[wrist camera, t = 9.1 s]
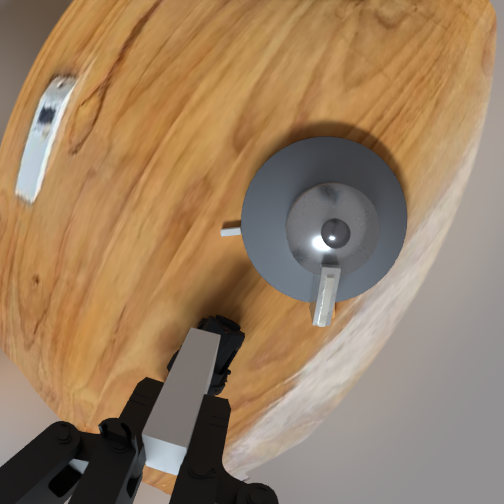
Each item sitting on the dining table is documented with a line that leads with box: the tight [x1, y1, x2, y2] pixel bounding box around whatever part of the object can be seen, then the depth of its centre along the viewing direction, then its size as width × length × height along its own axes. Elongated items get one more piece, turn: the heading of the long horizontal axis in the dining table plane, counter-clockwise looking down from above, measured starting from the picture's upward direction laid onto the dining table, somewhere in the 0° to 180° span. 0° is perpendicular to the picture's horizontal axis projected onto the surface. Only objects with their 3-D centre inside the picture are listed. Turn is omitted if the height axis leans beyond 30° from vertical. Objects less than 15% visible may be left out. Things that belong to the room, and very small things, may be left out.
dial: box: [286, 181, 380, 327], centre depth 30 cm, size 16×10×4 cm, turn 177°
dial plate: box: [220, 137, 407, 319], centre depth 33 cm, size 22×22×2 cm
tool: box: [167, 315, 245, 396], centre depth 38 cm, size 8×23×15 cm, turn 150°
